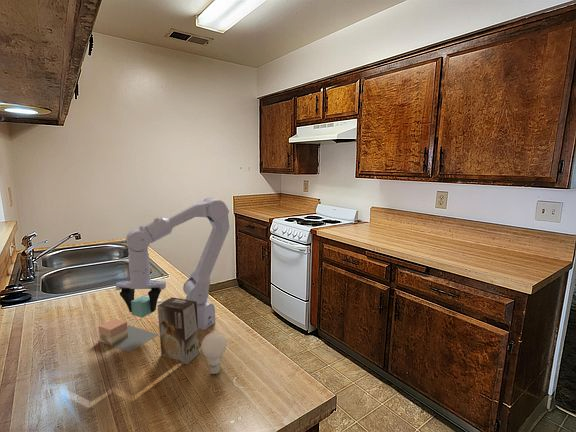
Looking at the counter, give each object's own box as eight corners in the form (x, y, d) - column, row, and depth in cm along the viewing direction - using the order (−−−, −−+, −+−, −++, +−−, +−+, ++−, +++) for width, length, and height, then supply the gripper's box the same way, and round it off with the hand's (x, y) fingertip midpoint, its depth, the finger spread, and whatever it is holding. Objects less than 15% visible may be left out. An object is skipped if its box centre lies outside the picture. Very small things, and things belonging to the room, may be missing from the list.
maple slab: (128, 336, 101) (127, 329, 100) (111, 345, 96) (111, 337, 96) (116, 332, 103) (115, 325, 103) (100, 341, 98) (99, 333, 98)
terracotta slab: (127, 329, 100) (126, 321, 100) (111, 337, 96) (110, 329, 95) (115, 325, 103) (115, 318, 102) (99, 333, 98) (98, 326, 98)
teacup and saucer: (164, 301, 131) (163, 292, 130) (153, 310, 123) (153, 300, 122) (143, 300, 132) (142, 291, 131) (132, 309, 124) (131, 299, 123)
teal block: (154, 311, 101) (153, 298, 101) (142, 317, 97) (141, 303, 97) (143, 309, 103) (142, 295, 102) (131, 314, 99) (130, 301, 98)
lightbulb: (206, 365, 88) (204, 327, 86) (229, 365, 88) (228, 328, 86) (199, 380, 81) (197, 340, 80) (224, 381, 81) (222, 340, 80)
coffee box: (200, 352, 94) (198, 300, 91) (186, 365, 88) (183, 310, 85) (175, 346, 97) (172, 296, 94) (160, 358, 91) (156, 305, 89)
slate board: (159, 337, 102) (159, 334, 102) (128, 355, 92) (128, 352, 92) (129, 328, 108) (129, 325, 108) (97, 344, 99) (97, 341, 98)
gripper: (168, 264, 102) (170, 305, 104) (122, 265, 102) (125, 305, 104) (159, 271, 95) (162, 314, 97) (110, 272, 95) (114, 315, 97)
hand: (142, 310), depth 100 cm, fingers closed on teal block, 6 cm apart
